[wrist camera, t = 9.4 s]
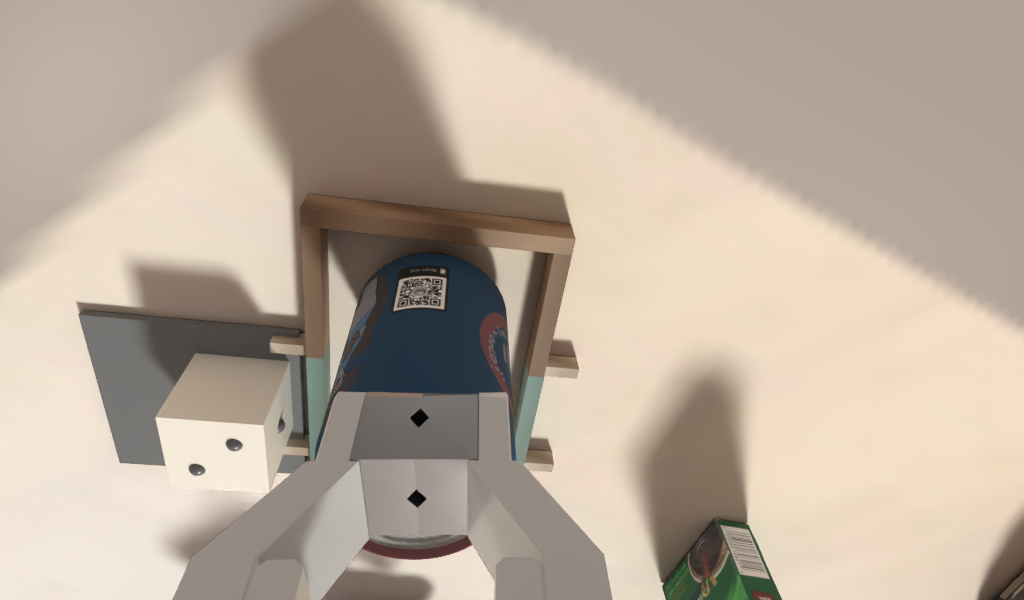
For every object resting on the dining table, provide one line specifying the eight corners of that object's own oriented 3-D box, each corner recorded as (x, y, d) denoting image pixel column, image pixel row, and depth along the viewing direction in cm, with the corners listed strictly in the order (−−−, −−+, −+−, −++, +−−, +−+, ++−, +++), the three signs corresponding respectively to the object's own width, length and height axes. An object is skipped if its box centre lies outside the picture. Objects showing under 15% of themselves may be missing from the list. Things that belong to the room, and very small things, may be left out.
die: (206, 423, 33) (169, 494, 29) (195, 353, 30) (152, 421, 26) (297, 429, 33) (273, 501, 29) (294, 361, 31) (267, 430, 27)
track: (289, 521, 38) (282, 542, 37) (265, 188, 26) (254, 203, 25) (530, 533, 40) (532, 554, 38) (609, 228, 28) (615, 243, 27)
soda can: (505, 357, 32) (519, 567, 22) (371, 361, 32) (321, 575, 21) (504, 237, 28) (520, 424, 18) (352, 241, 28) (280, 432, 18)
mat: (123, 457, 34) (120, 462, 34) (83, 310, 29) (78, 315, 29) (306, 468, 36) (305, 474, 35) (300, 329, 30) (298, 334, 30)
